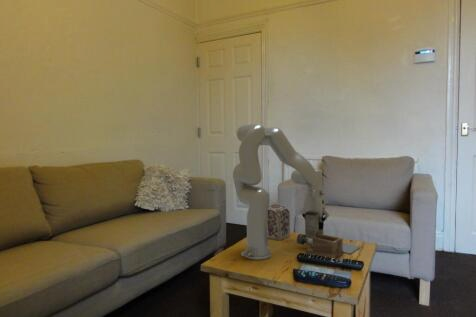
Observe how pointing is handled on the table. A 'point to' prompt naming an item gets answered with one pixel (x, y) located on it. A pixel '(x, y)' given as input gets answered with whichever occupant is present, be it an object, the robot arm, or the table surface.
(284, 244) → the table surface
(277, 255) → the table surface
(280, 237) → the decorative jar
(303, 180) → the robot arm
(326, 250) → the brown open box
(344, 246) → the spacer mat
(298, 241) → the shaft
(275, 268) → the table surface
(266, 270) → the table surface
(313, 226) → the coffee box
